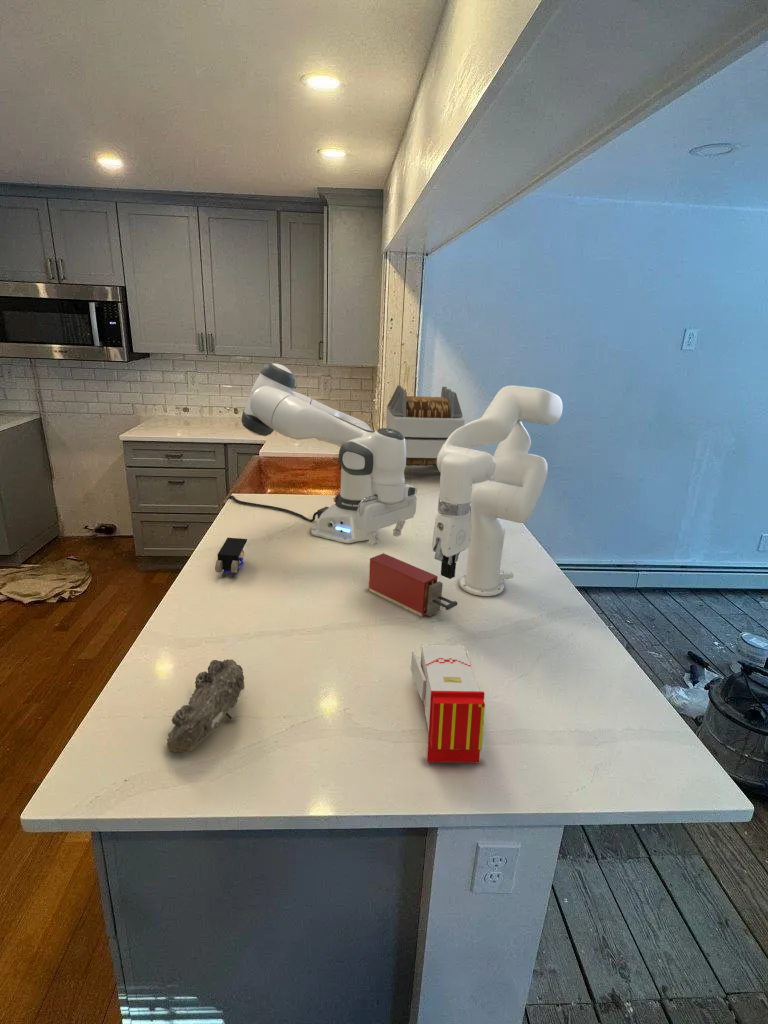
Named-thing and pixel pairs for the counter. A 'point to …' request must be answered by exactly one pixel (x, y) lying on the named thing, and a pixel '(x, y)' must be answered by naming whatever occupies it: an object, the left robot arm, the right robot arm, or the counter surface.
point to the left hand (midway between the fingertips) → (385, 539)
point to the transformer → (424, 423)
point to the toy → (450, 703)
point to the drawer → (435, 598)
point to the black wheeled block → (230, 556)
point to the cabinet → (399, 582)
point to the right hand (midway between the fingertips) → (447, 576)
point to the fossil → (206, 705)
